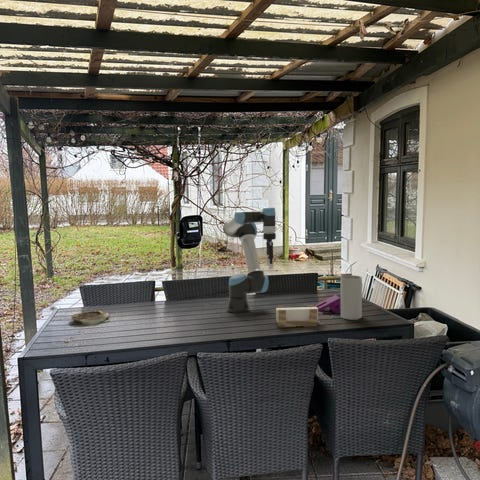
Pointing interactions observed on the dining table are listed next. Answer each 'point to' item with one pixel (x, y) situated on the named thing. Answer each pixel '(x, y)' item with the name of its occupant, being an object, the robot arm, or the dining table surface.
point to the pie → (90, 317)
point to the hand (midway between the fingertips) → (270, 267)
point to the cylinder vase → (351, 297)
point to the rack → (283, 322)
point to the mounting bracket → (330, 304)
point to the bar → (297, 313)
